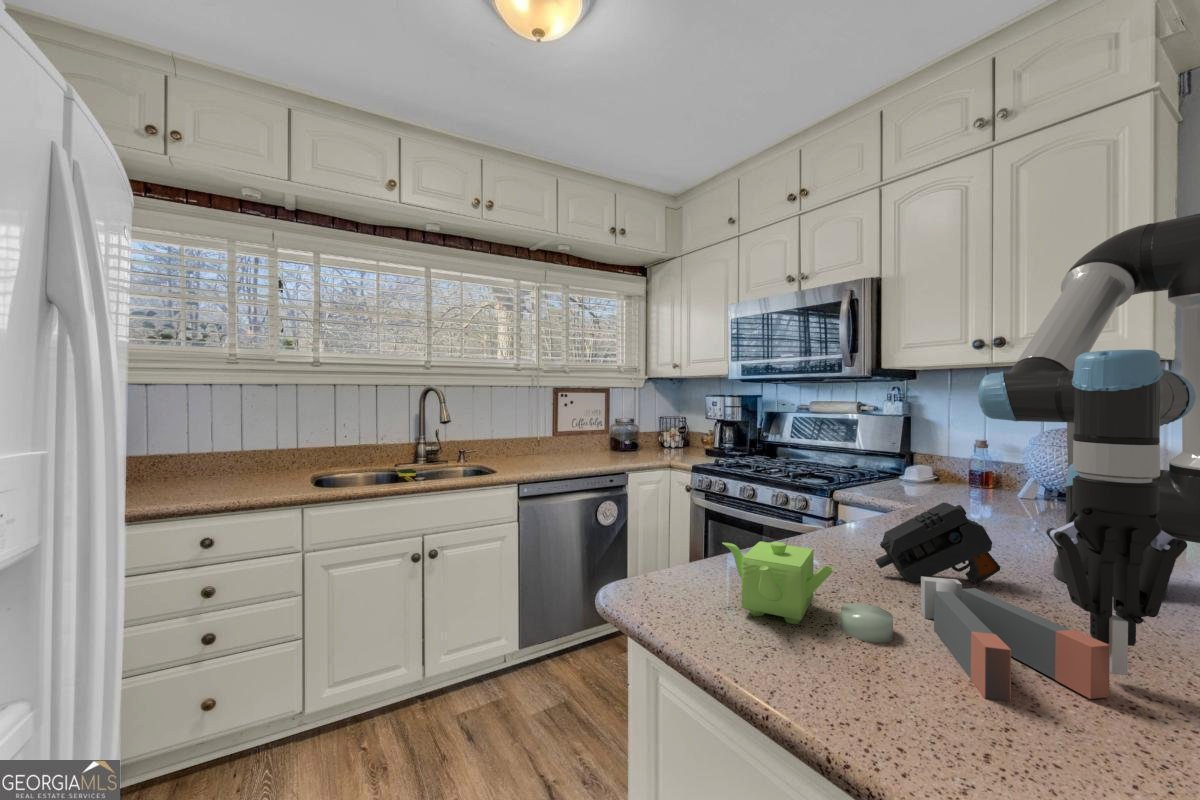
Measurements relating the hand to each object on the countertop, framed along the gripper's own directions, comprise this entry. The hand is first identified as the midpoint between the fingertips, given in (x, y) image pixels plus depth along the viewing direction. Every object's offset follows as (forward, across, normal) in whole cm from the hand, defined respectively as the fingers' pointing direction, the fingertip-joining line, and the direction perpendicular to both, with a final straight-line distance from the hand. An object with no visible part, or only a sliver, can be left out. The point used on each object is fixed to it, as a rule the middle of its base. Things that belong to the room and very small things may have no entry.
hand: (1112, 668), depth 63 cm
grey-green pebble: (+2, +26, -8) cm, 27 cm away
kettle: (+2, +39, -12) cm, 41 cm away
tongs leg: (+2, +7, -4) cm, 8 cm away
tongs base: (+2, +14, -5) cm, 14 cm away
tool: (+2, +9, -34) cm, 36 cm away
